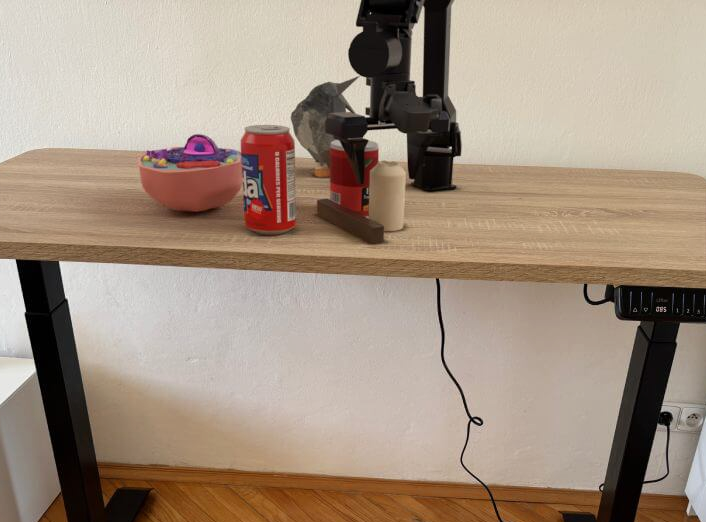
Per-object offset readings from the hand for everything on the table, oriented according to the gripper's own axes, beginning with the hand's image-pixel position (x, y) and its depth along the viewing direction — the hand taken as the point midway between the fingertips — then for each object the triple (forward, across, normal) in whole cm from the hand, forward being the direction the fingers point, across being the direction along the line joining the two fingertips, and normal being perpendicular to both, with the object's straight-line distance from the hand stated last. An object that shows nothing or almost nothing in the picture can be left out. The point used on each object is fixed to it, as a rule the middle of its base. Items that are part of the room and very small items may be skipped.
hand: (386, 181), depth 120 cm
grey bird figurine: (+7, +10, +39) cm, 41 cm away
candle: (+7, 0, 0) cm, 7 cm away
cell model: (+7, -23, +23) cm, 33 cm away
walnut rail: (+7, -5, +2) cm, 9 cm away
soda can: (+7, -17, +6) cm, 19 cm away
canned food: (+7, 0, +11) cm, 13 cm away
